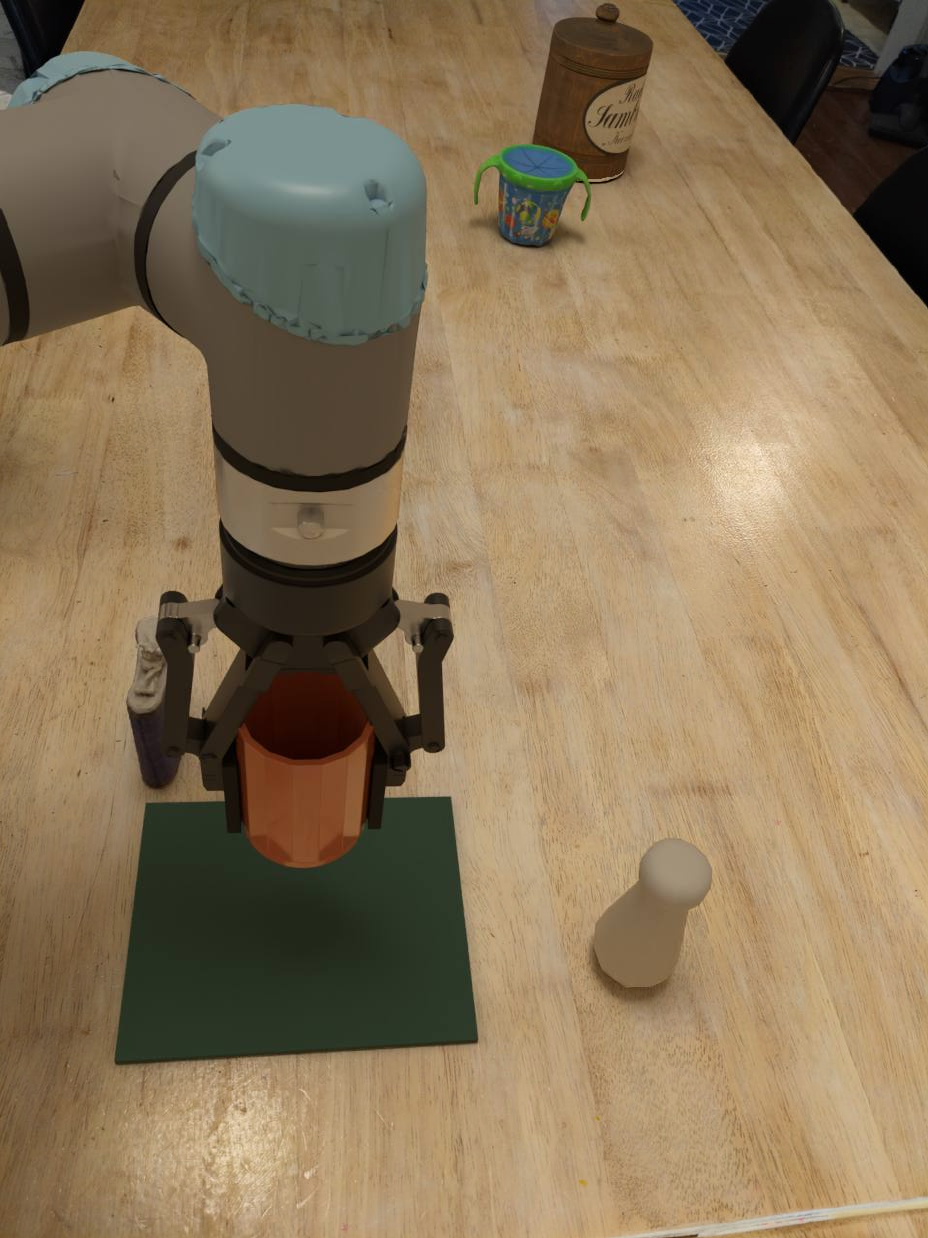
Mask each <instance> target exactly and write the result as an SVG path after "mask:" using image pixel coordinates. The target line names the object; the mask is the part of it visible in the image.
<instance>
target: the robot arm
mask: <svg viewBox="0 0 928 1238" xmlns="http://www.w3.org/2000/svg"><path fill="white" fill-rule="evenodd" d="M427 206H428V185H427V178H426V174H425V171H424V169H423V166H422V164H421V161H420V159H419V158H418V156H417V155H416V153H415V152H414V151H413V148H411V146H410V145H409V143H407V142H406V140H404V139H403V138H402V137H401V136H399V135H398V133H396V132H394V131H393V130H391V129H390V128H388V127H386V126H384V125H382V124H381V123H379V122H377V121H375V120H373V119H371V118H368V117H364V116H347V115H344V114H342V113H341V114H340V113H339V112H338V111H337V110H336V109H335V108H333V107H328V106H322V105H313V104H302V103H281V104H279V103H278V104H266V105H259V106H254V107H249V108H245V109H241V110H239V111H235V112H234V113H231V114H229V115H227V116H224V117H222V116H220V115H218V114H217V113H216V112H215V111H213V110H211V109H210V108H208V107H207V106H206V105H204V104H202V103H201V102H199V101H198V100H197V99H196V98H195V97H194V96H192V94H191V93H189V92H188V91H187V90H186V89H184V88H182V87H181V86H180V85H179V84H177V83H174V82H171V81H170V80H168V79H167V78H166V77H164V76H162V74H161V75H160V73H150V72H149V71H146V70H145V69H144V68H142V67H141V66H136V65H134V64H133V63H131V62H129V61H127V60H124V59H122V58H120V57H118V56H115V55H112V54H109V53H104V52H99V51H89V50H88V51H87V50H80V51H74V52H68V53H63V54H59V55H57V56H54V57H52V58H50V59H49V60H48V61H46V62H45V63H44V64H43V65H42V66H41V67H39V68H38V69H36V70H35V71H34V72H33V73H32V74H31V75H30V76H29V77H28V78H27V79H25V80H24V81H22V82H21V83H19V85H18V86H17V88H16V89H15V90H14V92H13V93H12V95H11V98H10V100H9V102H8V105H7V106H6V108H4V109H0V348H1V347H4V346H5V347H6V345H10V344H12V343H15V342H22V341H26V340H28V339H32V338H35V337H39V336H43V335H45V334H48V333H52V332H55V331H58V330H61V329H65V328H69V327H71V326H74V325H77V324H81V323H84V322H87V321H90V320H94V319H97V318H100V317H104V316H106V315H109V314H112V313H116V312H119V311H122V310H126V309H129V308H132V307H140V308H142V309H143V310H144V311H145V312H147V313H148V314H150V315H151V316H153V317H154V318H156V319H157V320H158V321H160V322H161V323H162V324H163V325H165V327H167V328H169V330H171V331H172V332H173V333H175V334H177V335H178V336H179V337H181V338H183V339H185V340H186V341H188V342H189V343H190V344H191V345H193V346H194V347H195V348H196V349H197V350H198V351H199V352H200V353H201V355H202V356H203V359H204V361H205V364H206V371H207V382H208V393H209V404H210V413H211V414H210V417H211V434H212V446H213V447H212V448H213V463H214V476H215V477H214V479H215V492H216V494H215V495H216V507H217V508H216V509H217V512H218V515H219V519H218V520H219V521H218V535H219V536H218V537H219V551H220V564H221V565H220V567H221V581H222V583H221V585H220V586H219V587H218V588H217V590H216V592H215V594H214V597H213V598H207V599H199V600H194V601H189V600H188V598H187V596H186V595H185V594H184V593H182V592H180V591H178V590H167V591H165V592H163V593H162V594H161V595H160V597H159V605H158V612H157V613H158V614H157V617H158V620H157V627H156V635H155V638H156V641H157V643H158V646H159V648H160V650H161V652H162V654H163V656H164V658H165V660H166V662H167V676H166V690H165V703H164V717H163V731H162V744H161V752H162V754H163V755H164V756H166V757H169V758H178V757H181V758H182V757H183V756H184V755H185V754H186V753H187V754H191V755H193V756H196V757H197V758H198V761H199V765H200V773H201V782H202V787H203V788H204V789H205V791H206V792H223V798H224V801H225V811H226V822H227V833H241V822H242V820H241V808H240V793H239V778H238V763H237V751H236V735H237V733H238V728H239V727H241V726H242V725H243V723H244V721H245V720H246V718H247V716H248V715H249V713H250V711H251V710H252V708H253V706H254V705H255V703H256V701H257V700H258V698H259V696H260V694H261V693H266V692H267V690H268V689H269V687H270V685H271V684H272V682H273V680H274V679H275V677H276V675H277V674H296V673H301V672H314V673H320V674H338V675H339V677H340V679H341V680H342V682H343V684H344V686H345V688H346V689H347V691H348V692H349V693H350V692H352V693H353V694H354V696H355V698H356V700H357V701H358V703H359V705H360V707H361V709H362V710H363V712H364V714H365V716H366V718H367V719H368V721H369V723H370V725H371V726H374V732H375V734H376V737H375V747H374V756H373V766H372V777H371V787H370V797H369V808H368V817H367V822H368V829H381V823H382V815H383V806H384V798H386V789H387V788H391V787H392V788H394V787H395V788H396V787H402V786H403V785H404V783H405V782H406V778H407V772H408V771H409V770H411V769H412V756H411V754H412V753H413V752H414V751H416V750H421V749H423V751H424V752H425V753H428V754H437V753H440V752H442V751H444V749H445V748H446V732H445V731H446V730H445V729H446V727H445V703H444V702H445V701H444V678H443V676H444V675H443V674H444V673H443V662H444V660H445V657H446V656H447V654H448V651H449V649H450V647H452V646H451V645H452V643H453V642H454V639H455V635H454V626H453V619H452V612H451V603H450V599H449V596H448V595H447V594H445V593H443V592H432V593H430V594H428V595H427V596H426V597H425V598H424V599H423V602H419V601H412V600H406V599H401V598H400V597H399V594H398V592H397V590H396V589H395V588H394V586H393V585H394V584H393V583H394V575H395V573H394V572H395V562H396V554H397V543H398V536H399V535H398V533H399V532H398V530H399V528H398V520H399V518H400V510H401V509H400V508H401V499H402V486H403V476H404V475H403V474H404V463H405V450H406V443H407V437H408V420H409V412H410V405H411V404H410V403H411V393H412V384H413V376H414V369H415V368H414V367H415V358H416V350H417V349H416V348H417V342H418V341H417V340H418V334H419V326H420V320H421V319H420V318H421V312H422V305H423V303H424V301H425V299H426V291H427V288H428V287H427V286H428V282H429V281H428V280H429V272H428V263H427V262H426V258H427V257H426V252H427V251H426V249H427V213H428V212H427V210H428V209H427V208H428V207H427ZM214 629H217V630H219V632H221V633H222V634H223V635H224V636H225V637H226V638H227V639H229V640H230V641H231V642H232V643H233V644H235V645H236V646H237V647H238V648H239V649H238V651H237V653H236V655H235V657H234V659H233V660H232V662H231V664H230V666H229V668H228V669H227V672H226V673H225V675H224V677H223V679H222V681H221V682H220V685H218V688H217V689H216V691H215V694H214V695H213V697H212V699H211V701H210V702H209V704H208V706H207V708H206V707H205V706H203V707H202V710H201V718H198V717H193V716H190V713H191V711H190V710H191V702H192V693H193V692H192V691H193V682H194V681H193V680H194V672H195V662H196V661H195V660H196V654H198V653H199V652H200V651H201V646H203V645H205V644H206V643H207V642H208V640H209V633H210V631H212V630H214ZM397 629H400V630H402V632H403V635H404V641H405V642H406V644H408V645H410V646H411V651H412V652H414V654H415V668H416V671H415V672H416V680H417V681H416V683H417V684H416V685H417V697H418V713H417V714H412V715H407V713H406V711H405V709H404V707H403V705H402V703H401V701H400V699H399V696H398V695H397V693H396V690H395V689H394V686H393V685H392V683H391V681H390V679H389V677H388V675H387V673H386V671H385V670H384V667H383V666H382V664H381V662H380V660H379V658H378V655H377V654H376V651H375V650H374V649H375V648H376V647H377V646H379V644H381V643H382V642H384V641H385V640H386V639H387V638H388V637H389V636H390V635H391V634H393V633H394V632H395V631H396V630H397Z"/></svg>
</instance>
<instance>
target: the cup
mask: <svg viewBox="0 0 928 1238" xmlns="http://www.w3.org/2000/svg"><path fill="white" fill-rule="evenodd" d="M375 737H376V734H375V732H374V726H371V725H370V723H369V721H368V719H367V718H366V716H365V714H364V712H363V710H362V709H361V707H360V705H359V703H358V701H357V700H356V698H355V696H354V694H353V693H352V692H350V693H349V692H348V691H347V689H346V688H345V686H344V684H343V682H342V680H341V679H340V677H339V675H338V674H320V673H314V672H301V673H296V674H277V675H276V677H275V679H274V680H273V682H272V684H271V685H270V687H269V689H268V690H267V692H266V693H261V694H260V696H259V698H258V700H257V701H256V703H255V705H254V706H253V708H252V710H251V711H250V713H249V715H248V716H247V718H246V720H245V721H244V723H243V725H242V726H241V727H239V728H238V733H237V735H236V751H237V763H238V778H239V793H240V808H241V820H242V822H243V828H244V831H245V833H246V836H247V838H248V839H249V841H250V843H251V844H252V845H253V847H254V848H255V849H256V850H257V851H258V852H259V853H261V854H262V855H263V856H265V857H266V858H268V859H270V860H271V861H273V862H276V863H278V864H281V865H285V866H289V867H296V868H309V867H316V866H321V865H324V864H327V863H330V862H332V861H334V860H336V859H338V858H340V857H341V856H343V855H344V854H346V853H347V852H348V851H349V850H350V849H351V848H352V847H353V846H354V845H355V844H356V843H357V841H358V840H359V838H360V836H361V835H362V833H363V830H364V827H365V824H366V819H367V817H368V808H369V797H370V787H371V777H372V766H373V756H374V747H375Z"/></svg>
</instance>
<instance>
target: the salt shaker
mask: <svg viewBox="0 0 928 1238" xmlns="http://www.w3.org/2000/svg"><path fill="white" fill-rule="evenodd" d="M637 877H638V880H637V881H636V882H635V883H634V884H633V885H632V886H630V888H628V890H627V891H625V892H624V893H623V894H622V895H621V896H619V898H617V899H616V900H615V901H614V902H613V903H612V904H611V905H610V906H608V907H607V908H606V909H605V911H603V913H601V915H600V917H599V918H598V920H597V921H596V922H595V924H594V934H593V944H592V945H593V948H594V951H595V954H596V957H597V961H598V963H599V966H600V968H601V970H602V972H603V973H605V974H606V975H607V976H608V977H610V978H611V979H613V980H614V981H615V982H616V983H618V984H619V985H621V986H622V987H623V988H624V989H628V988H652V987H654V986H655V985H658V984H659V983H662V982H664V981H665V980H667V979H668V978H670V976H671V975H672V973H673V972H674V970H675V968H676V967H677V965H678V964H679V961H680V958H681V957H680V955H681V952H682V951H681V950H682V947H683V946H682V945H683V940H684V937H685V932H686V925H687V920H688V916H689V911H690V910H692V909H694V908H697V907H700V905H701V904H702V902H703V901H704V900H705V898H706V896H707V895H708V893H709V891H711V887H712V884H713V882H712V881H713V868H712V866H711V863H710V862H709V860H708V857H707V855H706V854H705V853H703V851H701V849H700V848H699V847H697V846H696V845H695V844H694V843H692V842H689V841H687V840H685V839H682V838H675V837H673V838H672V837H665V838H663V839H661V840H658V841H656V842H654V843H652V844H651V845H650V846H649V847H648V848H647V850H646V851H645V852H644V854H643V855H642V856H641V858H640V861H639V864H638V876H637Z"/></svg>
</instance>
